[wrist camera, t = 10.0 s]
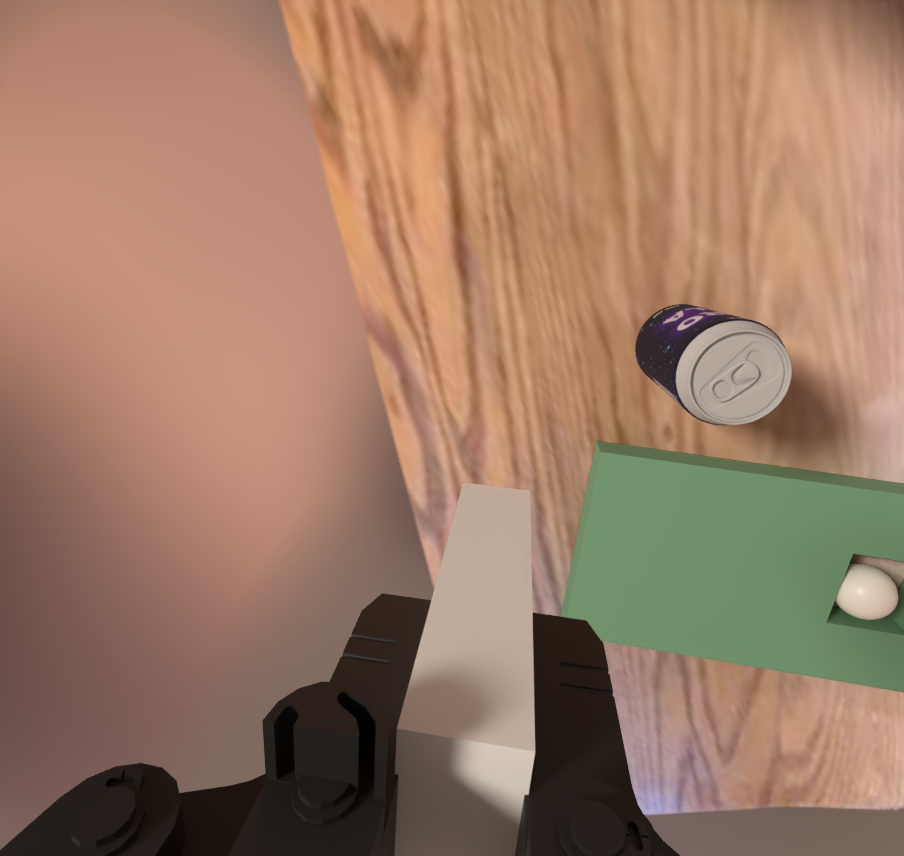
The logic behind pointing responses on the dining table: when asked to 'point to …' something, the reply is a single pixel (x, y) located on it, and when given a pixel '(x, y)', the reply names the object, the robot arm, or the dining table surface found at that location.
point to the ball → (867, 592)
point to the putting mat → (736, 562)
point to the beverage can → (714, 363)
